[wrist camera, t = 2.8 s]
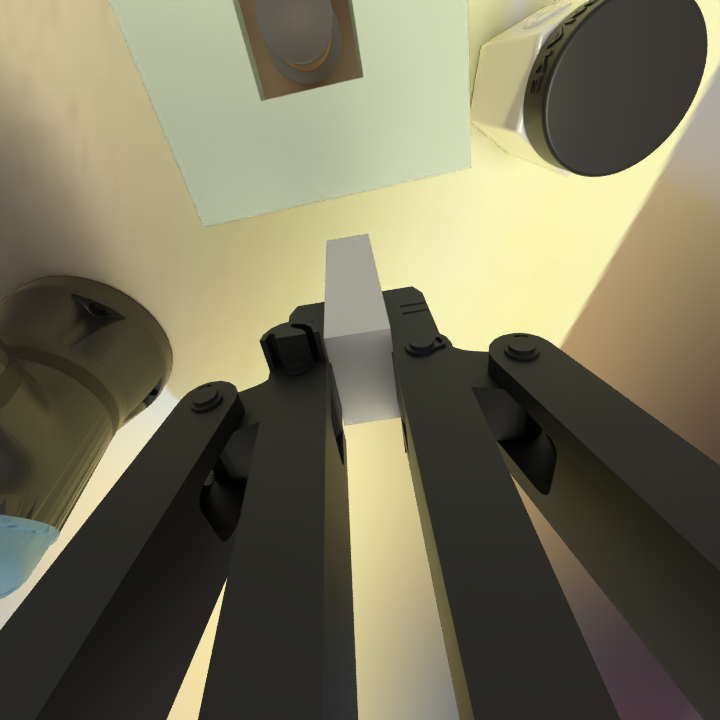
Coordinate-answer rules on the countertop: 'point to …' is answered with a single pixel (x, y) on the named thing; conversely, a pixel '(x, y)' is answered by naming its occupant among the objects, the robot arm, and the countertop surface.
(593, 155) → the jar
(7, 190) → the countertop surface
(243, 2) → the post
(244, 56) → the square plate with hole
